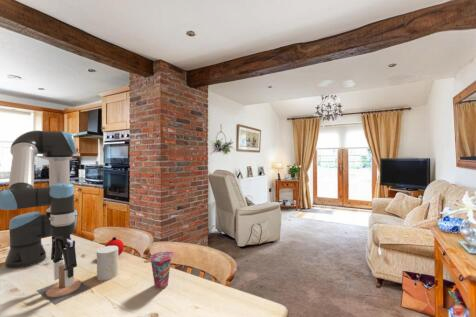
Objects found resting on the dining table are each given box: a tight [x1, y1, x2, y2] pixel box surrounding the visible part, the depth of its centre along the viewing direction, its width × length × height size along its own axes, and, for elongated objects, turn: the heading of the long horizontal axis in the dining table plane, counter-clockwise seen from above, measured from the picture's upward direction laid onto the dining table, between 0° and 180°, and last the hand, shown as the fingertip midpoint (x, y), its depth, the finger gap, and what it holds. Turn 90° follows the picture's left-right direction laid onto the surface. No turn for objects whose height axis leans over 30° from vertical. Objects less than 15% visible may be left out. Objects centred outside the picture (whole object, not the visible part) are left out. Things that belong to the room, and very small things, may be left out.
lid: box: [46, 263, 82, 298], centre depth 93 cm, size 11×11×9 cm
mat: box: [36, 282, 91, 305], centre depth 93 cm, size 16×12×1 cm
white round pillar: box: [96, 246, 120, 281], centre depth 103 cm, size 8×8×12 cm
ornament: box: [104, 236, 125, 257], centre depth 123 cm, size 9×9×10 cm
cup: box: [149, 251, 175, 290], centre depth 97 cm, size 9×8×12 cm
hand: (63, 281), depth 93 cm, fingers open, 8 cm apart
